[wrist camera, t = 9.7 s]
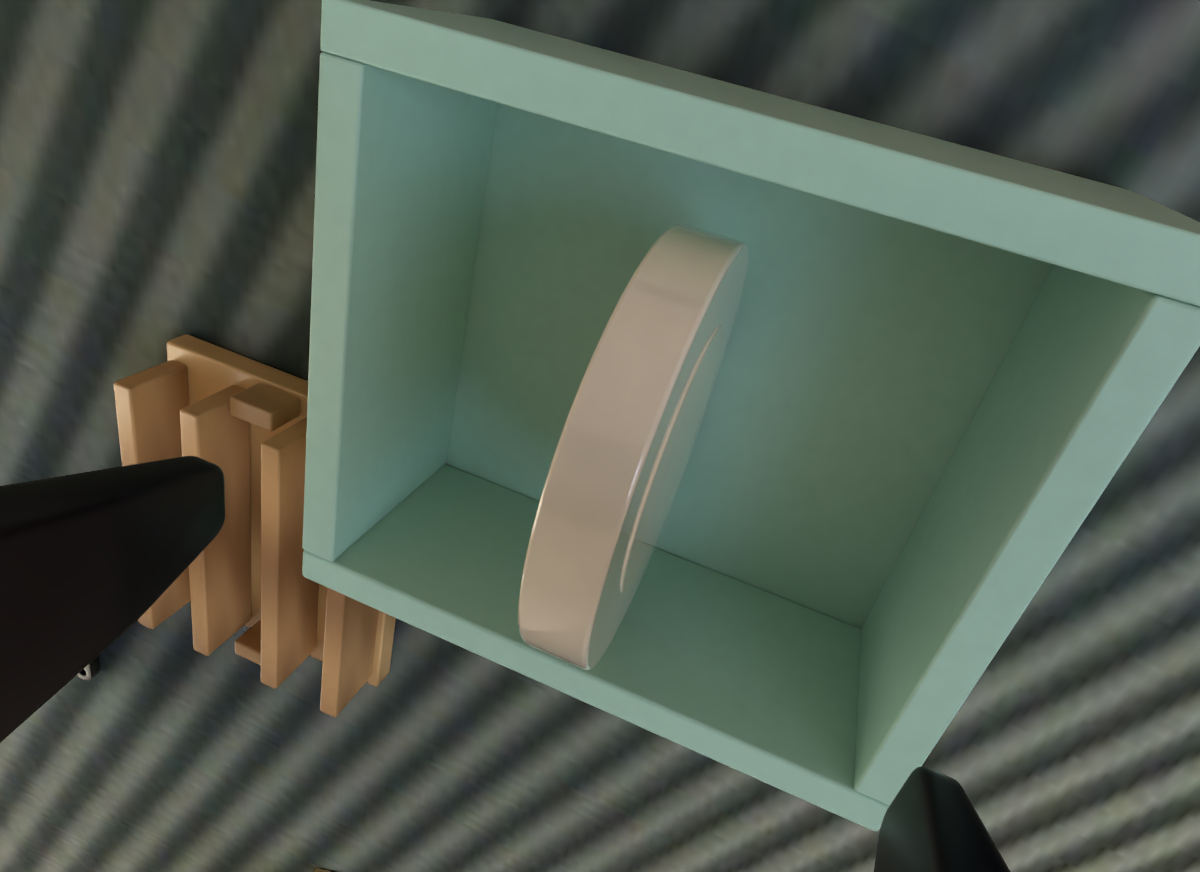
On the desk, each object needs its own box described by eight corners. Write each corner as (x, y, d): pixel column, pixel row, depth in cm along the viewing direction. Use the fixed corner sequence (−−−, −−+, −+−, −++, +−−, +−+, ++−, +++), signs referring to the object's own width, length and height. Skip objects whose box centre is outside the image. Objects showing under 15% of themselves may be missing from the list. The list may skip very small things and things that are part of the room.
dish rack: (390, 672, 26) (340, 732, 24) (199, 583, 28) (133, 631, 25) (420, 423, 21) (360, 467, 19) (187, 333, 23) (104, 363, 20)
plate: (674, 517, 19) (553, 770, 12) (627, 499, 19) (483, 737, 13) (776, 204, 15) (679, 330, 8) (716, 186, 15) (573, 295, 9)
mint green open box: (880, 648, 19) (877, 834, 15) (429, 467, 22) (300, 577, 17) (1133, 191, 14) (1265, 252, 9) (488, 17, 16) (320, -8, 11)
